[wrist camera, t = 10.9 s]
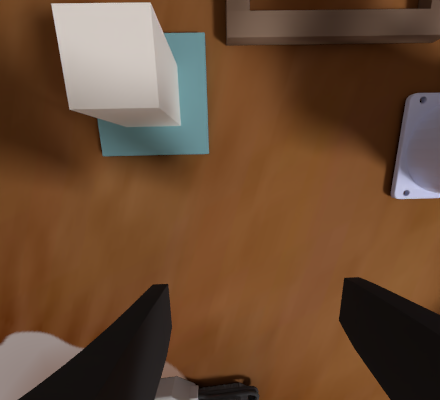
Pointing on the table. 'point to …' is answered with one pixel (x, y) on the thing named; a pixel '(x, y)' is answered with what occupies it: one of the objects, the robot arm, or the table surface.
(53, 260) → the table surface
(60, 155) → the table surface
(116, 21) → the cream block
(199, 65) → the mat
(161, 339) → the robot arm
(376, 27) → the brown square frame
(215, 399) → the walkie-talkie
